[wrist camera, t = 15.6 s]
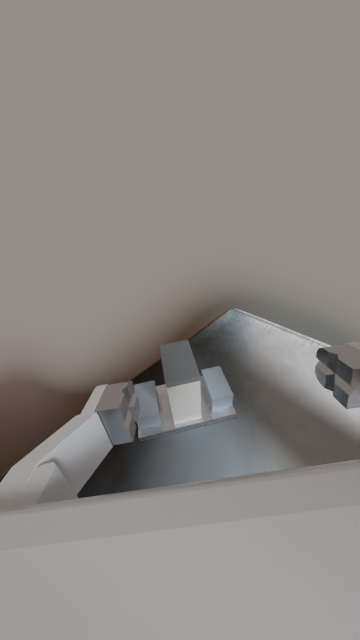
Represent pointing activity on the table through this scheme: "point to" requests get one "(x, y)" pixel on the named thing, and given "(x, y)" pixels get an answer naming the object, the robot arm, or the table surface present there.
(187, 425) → the grey flat base plate
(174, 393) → the block
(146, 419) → the mounted modules
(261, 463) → the table surface
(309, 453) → the table surface
